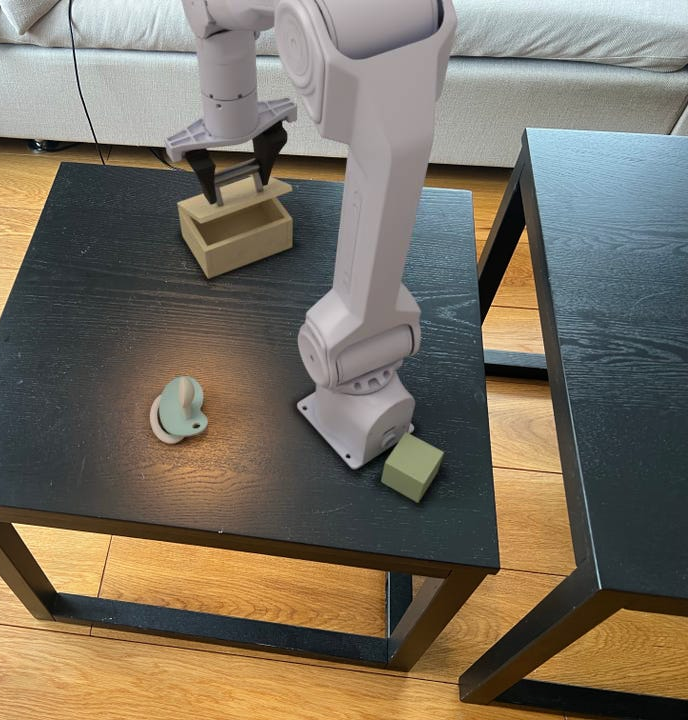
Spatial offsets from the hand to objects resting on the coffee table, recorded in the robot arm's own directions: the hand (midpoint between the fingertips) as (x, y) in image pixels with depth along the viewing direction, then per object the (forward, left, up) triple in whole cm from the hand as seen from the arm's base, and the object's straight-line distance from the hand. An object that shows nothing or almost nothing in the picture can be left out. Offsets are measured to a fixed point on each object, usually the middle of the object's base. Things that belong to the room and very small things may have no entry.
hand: (236, 189), depth 86 cm
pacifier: (-17, +20, -9) cm, 27 cm away
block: (-36, +5, -9) cm, 37 cm away
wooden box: (+1, 0, -9) cm, 9 cm away
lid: (+1, 0, -2) cm, 3 cm away
